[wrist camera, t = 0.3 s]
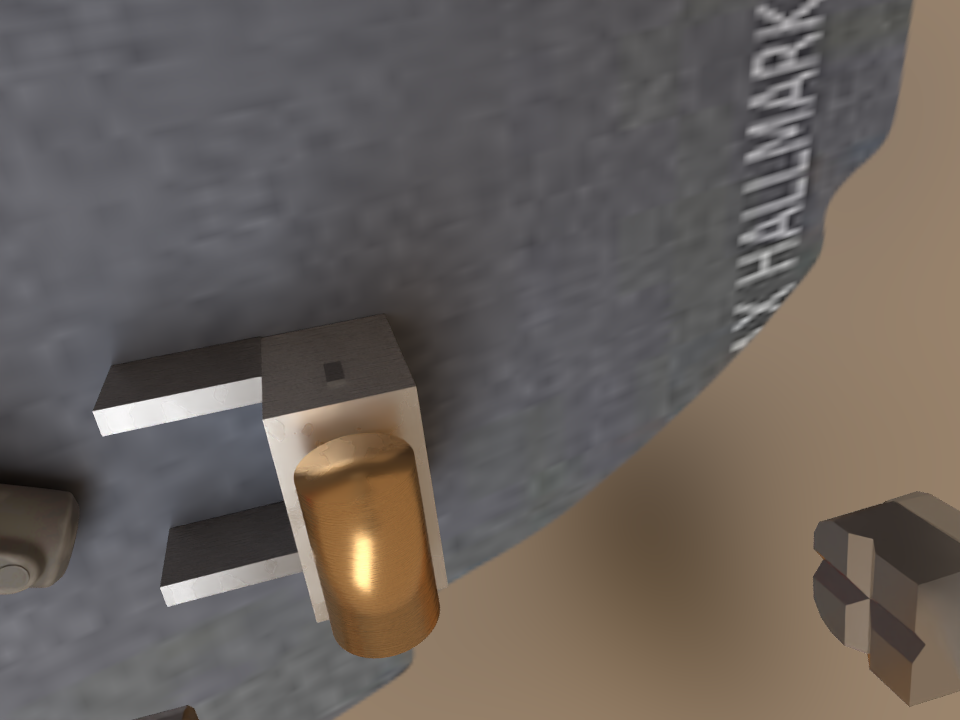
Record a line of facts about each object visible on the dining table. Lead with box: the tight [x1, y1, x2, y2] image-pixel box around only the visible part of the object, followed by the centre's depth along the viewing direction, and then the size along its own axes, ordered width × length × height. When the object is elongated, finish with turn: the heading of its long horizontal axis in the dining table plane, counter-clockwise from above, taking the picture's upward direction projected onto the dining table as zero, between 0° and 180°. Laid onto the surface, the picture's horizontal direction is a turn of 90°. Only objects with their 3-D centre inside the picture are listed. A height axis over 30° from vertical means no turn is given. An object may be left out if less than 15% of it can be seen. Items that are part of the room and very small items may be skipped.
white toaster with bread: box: [93, 314, 448, 658], centre depth 43 cm, size 14×17×17 cm
